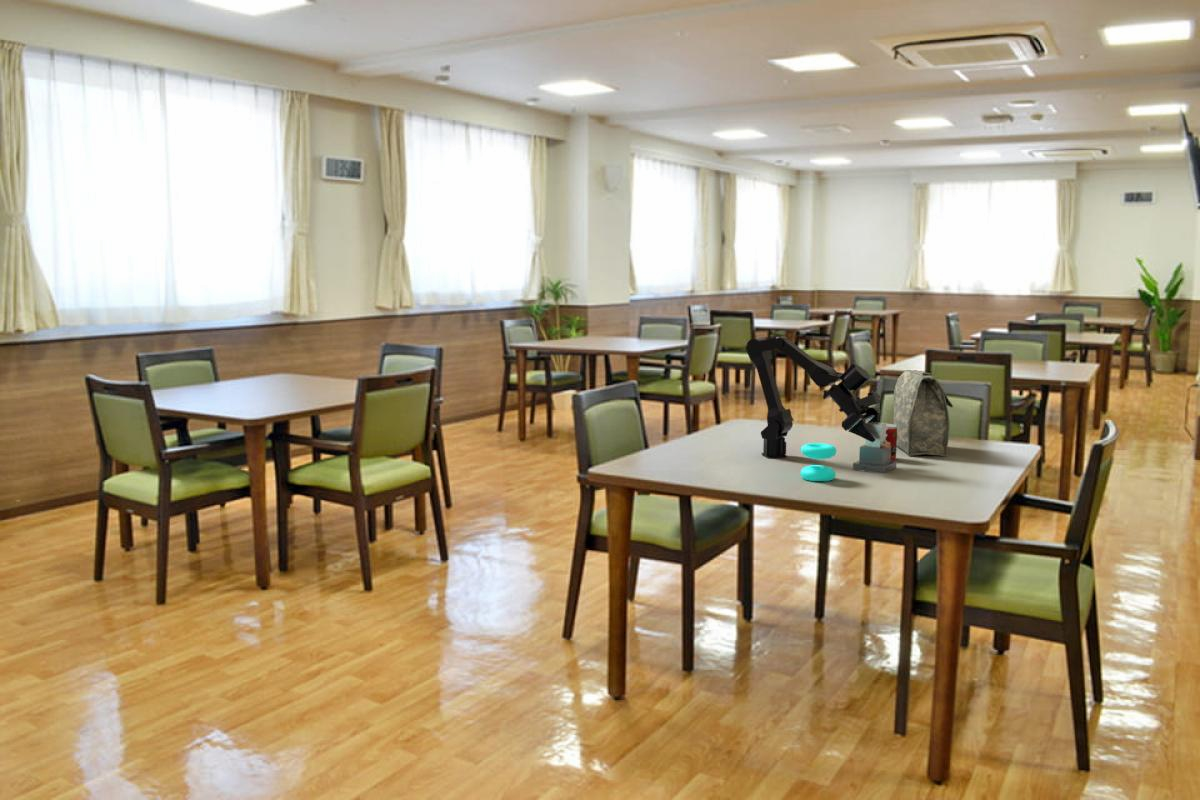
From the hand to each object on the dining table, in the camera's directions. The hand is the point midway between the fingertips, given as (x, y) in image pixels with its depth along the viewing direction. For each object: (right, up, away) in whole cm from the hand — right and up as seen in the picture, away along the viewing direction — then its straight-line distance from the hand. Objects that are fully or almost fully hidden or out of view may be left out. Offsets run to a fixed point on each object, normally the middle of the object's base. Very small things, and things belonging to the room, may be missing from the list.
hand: (879, 439), depth 296 cm
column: (-1, -7, +1) cm, 7 cm away
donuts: (-22, -11, -12) cm, 27 cm away
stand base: (-1, -9, +2) cm, 9 cm away
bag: (+23, -5, +32) cm, 39 cm away
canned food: (+6, -7, +18) cm, 20 cm away
